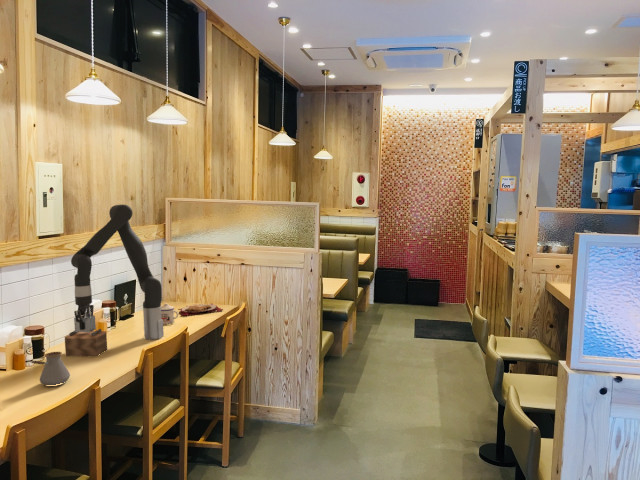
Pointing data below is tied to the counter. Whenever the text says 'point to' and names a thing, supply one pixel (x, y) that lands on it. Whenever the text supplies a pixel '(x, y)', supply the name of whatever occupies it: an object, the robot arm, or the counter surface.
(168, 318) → the teacup with lid
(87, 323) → the lock block
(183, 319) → the counter surface
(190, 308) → the plate with food
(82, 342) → the coupler stand
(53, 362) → the coffee pot
